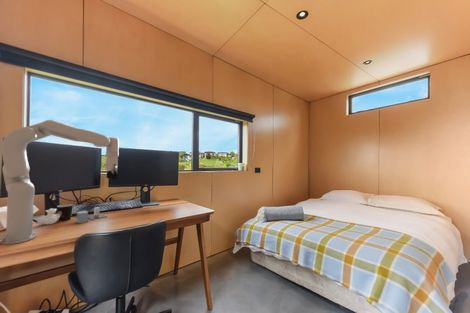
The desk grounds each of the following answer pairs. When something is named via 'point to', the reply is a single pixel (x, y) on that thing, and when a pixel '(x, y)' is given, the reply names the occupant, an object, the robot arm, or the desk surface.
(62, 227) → the desk surface
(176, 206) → the desk surface
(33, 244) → the desk surface
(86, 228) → the desk surface
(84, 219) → the cap
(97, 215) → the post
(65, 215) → the coffee mug
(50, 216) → the duck figurine
